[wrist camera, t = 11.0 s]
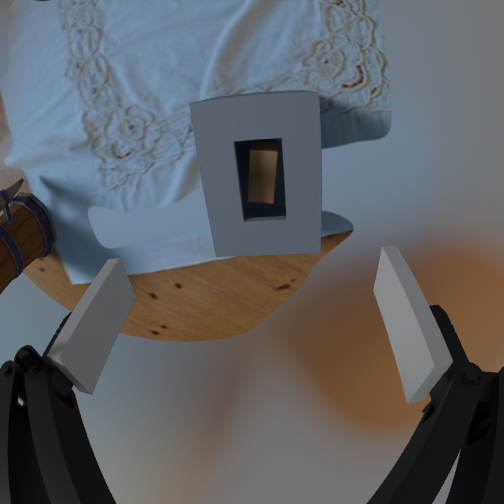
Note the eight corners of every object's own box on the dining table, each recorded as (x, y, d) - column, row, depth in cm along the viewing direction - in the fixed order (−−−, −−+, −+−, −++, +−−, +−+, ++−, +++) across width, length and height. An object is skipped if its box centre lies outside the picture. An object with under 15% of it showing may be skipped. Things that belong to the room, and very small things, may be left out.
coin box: (214, 97, 30) (189, 103, 21) (304, 90, 29) (318, 92, 20) (230, 211, 39) (216, 256, 30) (309, 207, 38) (320, 252, 29)
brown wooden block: (255, 135, 32) (250, 149, 26) (276, 136, 32) (277, 151, 26) (253, 176, 35) (247, 201, 29) (273, 178, 35) (273, 203, 29)
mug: (10, 160, 35) (-65, 211, 19) (58, 182, 38) (-24, 247, 21) (13, 239, 46) (-40, 295, 29) (57, 264, 48) (5, 332, 32)
